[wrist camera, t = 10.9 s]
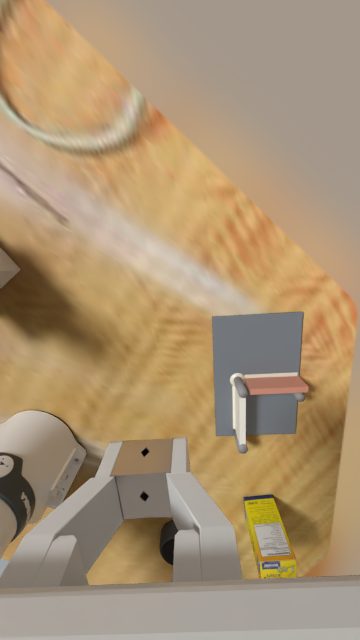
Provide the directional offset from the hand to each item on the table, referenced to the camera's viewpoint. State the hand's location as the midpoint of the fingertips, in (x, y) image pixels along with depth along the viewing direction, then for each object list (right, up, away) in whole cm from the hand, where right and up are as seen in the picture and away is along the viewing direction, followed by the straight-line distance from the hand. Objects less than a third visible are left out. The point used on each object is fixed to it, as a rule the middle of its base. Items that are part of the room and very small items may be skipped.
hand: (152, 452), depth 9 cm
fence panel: (+17, -5, +32) cm, 36 cm away
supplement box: (+17, -33, +40) cm, 55 cm away
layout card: (+14, -5, +32) cm, 36 cm away
